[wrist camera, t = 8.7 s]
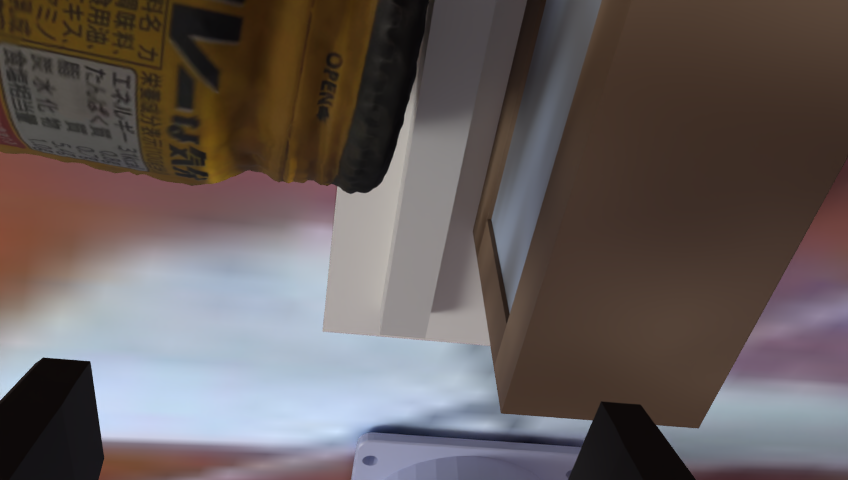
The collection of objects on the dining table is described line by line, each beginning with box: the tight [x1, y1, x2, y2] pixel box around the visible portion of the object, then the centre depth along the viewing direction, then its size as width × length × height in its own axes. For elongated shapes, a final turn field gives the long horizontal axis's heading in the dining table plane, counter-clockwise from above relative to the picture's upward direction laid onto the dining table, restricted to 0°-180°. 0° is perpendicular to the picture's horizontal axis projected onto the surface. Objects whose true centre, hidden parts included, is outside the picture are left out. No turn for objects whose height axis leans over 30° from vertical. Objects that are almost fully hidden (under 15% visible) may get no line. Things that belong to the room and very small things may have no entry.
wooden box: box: [473, 0, 848, 428], centre depth 14 cm, size 12×4×6 cm, turn 171°
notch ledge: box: [323, 0, 527, 346], centre depth 16 cm, size 20×11×2 cm, turn 171°
